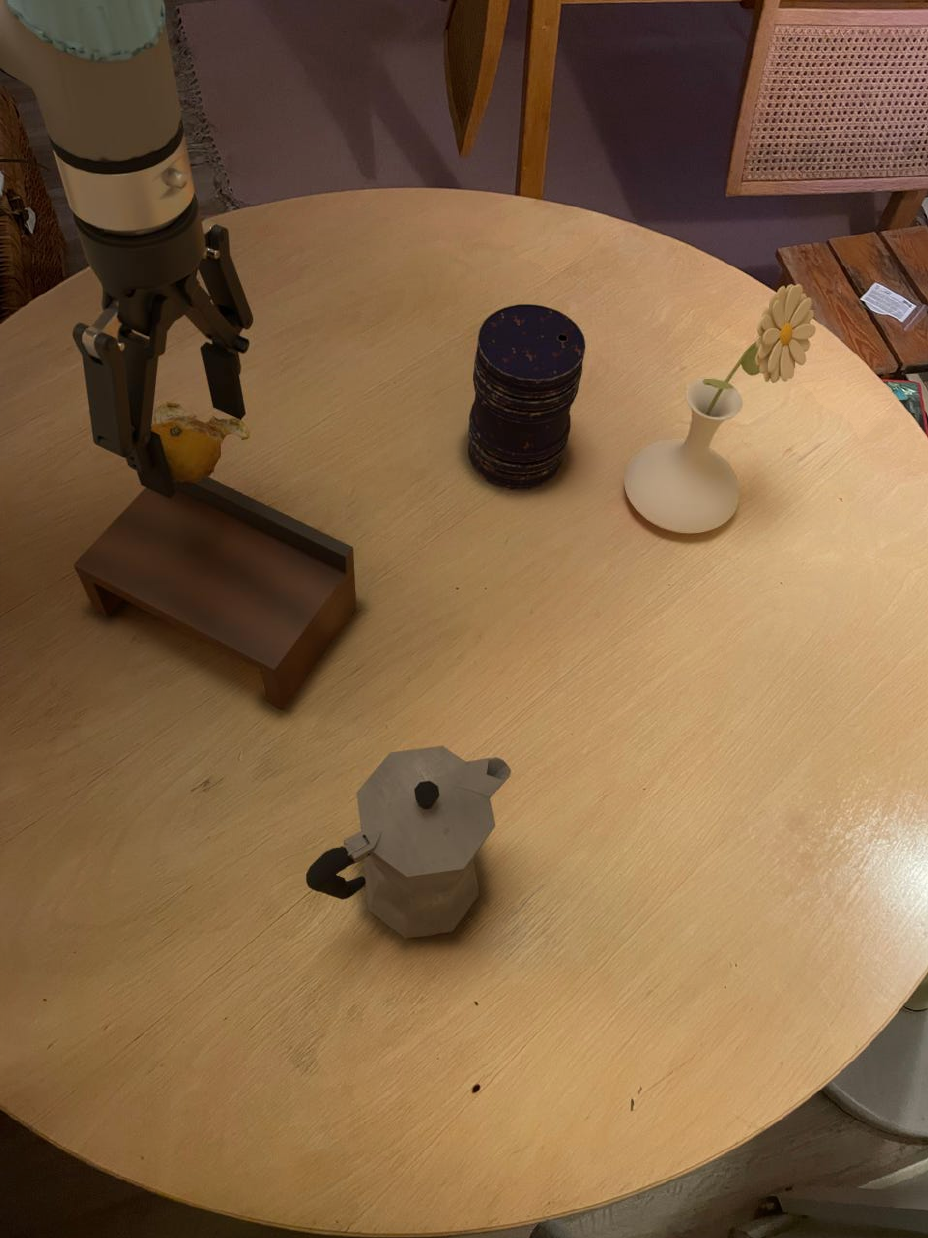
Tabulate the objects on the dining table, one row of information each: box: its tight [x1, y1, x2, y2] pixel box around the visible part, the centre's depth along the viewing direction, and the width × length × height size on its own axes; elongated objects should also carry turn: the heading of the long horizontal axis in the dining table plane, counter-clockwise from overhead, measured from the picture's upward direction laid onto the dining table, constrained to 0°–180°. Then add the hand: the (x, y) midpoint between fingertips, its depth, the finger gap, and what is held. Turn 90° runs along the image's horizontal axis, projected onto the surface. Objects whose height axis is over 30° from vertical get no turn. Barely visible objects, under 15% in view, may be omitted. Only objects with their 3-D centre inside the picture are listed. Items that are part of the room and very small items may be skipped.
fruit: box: [151, 401, 251, 483], centre depth 81 cm, size 8×8×4 cm
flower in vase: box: [623, 283, 816, 534], centre depth 93 cm, size 13×11×25 cm
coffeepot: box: [305, 745, 512, 939], centre depth 73 cm, size 15×9×18 cm, turn 122°
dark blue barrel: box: [467, 303, 586, 491], centre depth 99 cm, size 10×10×15 cm
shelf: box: [73, 476, 357, 711], centre depth 89 cm, size 12×20×9 cm, turn 62°
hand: (194, 448), depth 82 cm, fingers closed on fruit, 9 cm apart
